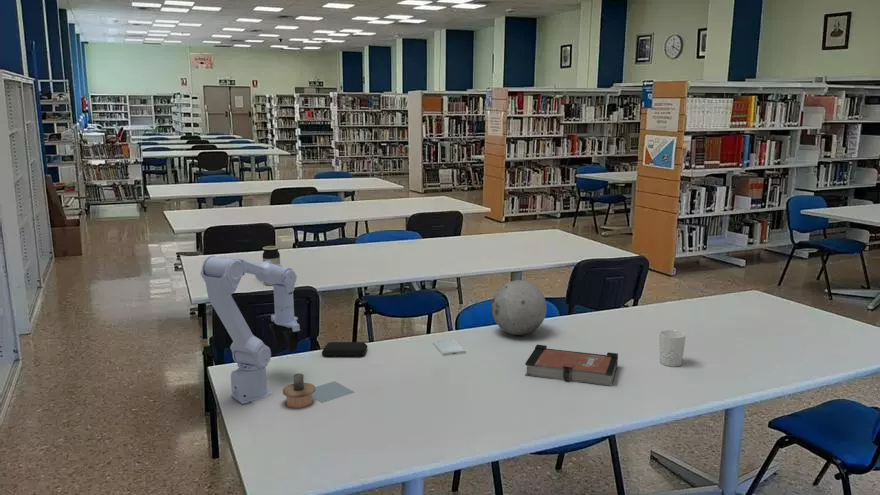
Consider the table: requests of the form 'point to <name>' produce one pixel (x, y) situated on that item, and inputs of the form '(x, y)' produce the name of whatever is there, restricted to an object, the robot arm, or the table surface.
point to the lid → (298, 387)
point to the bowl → (299, 401)
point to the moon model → (518, 307)
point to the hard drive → (449, 347)
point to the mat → (330, 391)
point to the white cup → (671, 347)
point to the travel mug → (271, 256)
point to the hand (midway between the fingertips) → (286, 348)
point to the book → (572, 366)
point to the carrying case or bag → (344, 349)
